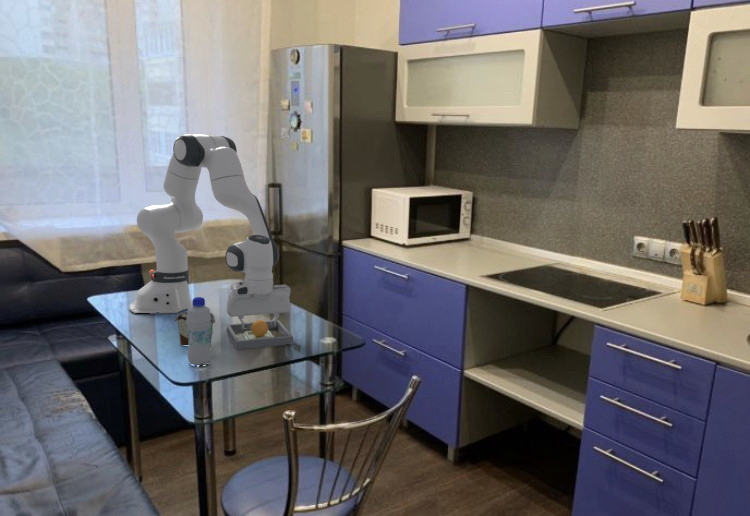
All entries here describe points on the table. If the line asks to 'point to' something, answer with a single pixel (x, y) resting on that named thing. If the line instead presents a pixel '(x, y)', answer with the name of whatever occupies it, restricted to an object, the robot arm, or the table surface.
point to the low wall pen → (258, 343)
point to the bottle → (199, 332)
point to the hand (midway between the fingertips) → (258, 327)
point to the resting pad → (249, 336)
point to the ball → (259, 328)
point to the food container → (184, 328)
